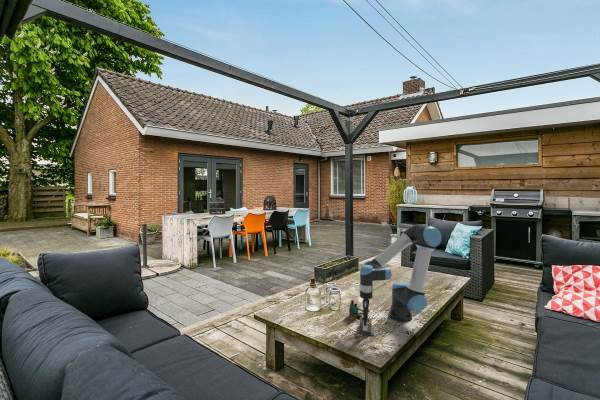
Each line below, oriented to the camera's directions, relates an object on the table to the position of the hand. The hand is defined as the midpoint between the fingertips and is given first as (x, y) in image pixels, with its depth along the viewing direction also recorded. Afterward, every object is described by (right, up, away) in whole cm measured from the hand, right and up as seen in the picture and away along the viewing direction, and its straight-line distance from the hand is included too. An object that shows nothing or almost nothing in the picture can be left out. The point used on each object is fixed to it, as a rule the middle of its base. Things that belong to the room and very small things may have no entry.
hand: (365, 326), depth 188 cm
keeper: (0, -3, 0) cm, 3 cm away
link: (0, -2, 0) cm, 2 cm away
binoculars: (-2, -2, +21) cm, 21 cm away
